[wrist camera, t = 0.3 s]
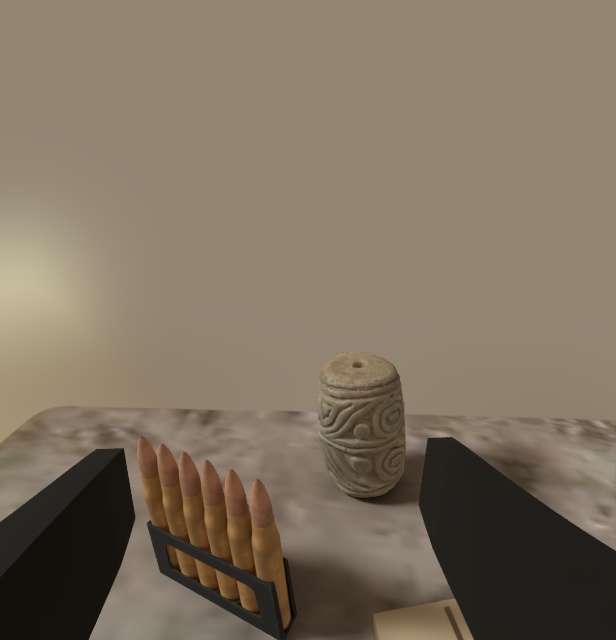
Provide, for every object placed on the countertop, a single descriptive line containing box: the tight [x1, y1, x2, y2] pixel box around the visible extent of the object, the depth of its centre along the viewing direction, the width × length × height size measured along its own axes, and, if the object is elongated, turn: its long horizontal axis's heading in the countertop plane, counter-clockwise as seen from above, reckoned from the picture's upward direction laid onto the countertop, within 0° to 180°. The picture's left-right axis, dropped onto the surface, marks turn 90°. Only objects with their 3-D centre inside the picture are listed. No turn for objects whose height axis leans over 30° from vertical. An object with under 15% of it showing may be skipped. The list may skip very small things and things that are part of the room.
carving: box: [317, 352, 406, 498], centre depth 33 cm, size 6×8×12 cm
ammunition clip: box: [137, 436, 297, 640], centre depth 25 cm, size 11×2×12 cm, turn 63°
